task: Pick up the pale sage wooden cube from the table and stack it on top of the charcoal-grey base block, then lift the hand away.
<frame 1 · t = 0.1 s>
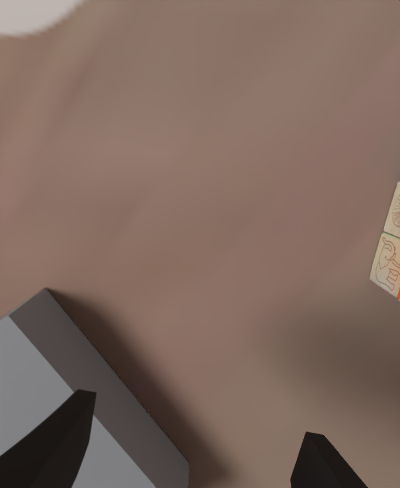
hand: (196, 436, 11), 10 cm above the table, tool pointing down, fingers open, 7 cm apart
base block: (31, 436, 23), on the table
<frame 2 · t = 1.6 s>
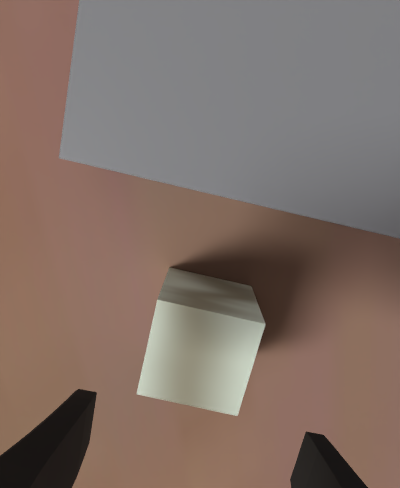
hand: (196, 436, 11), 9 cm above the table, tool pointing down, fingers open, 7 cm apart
base block: (271, 37, 17), on the table
sage cube: (200, 313, 20), on the table
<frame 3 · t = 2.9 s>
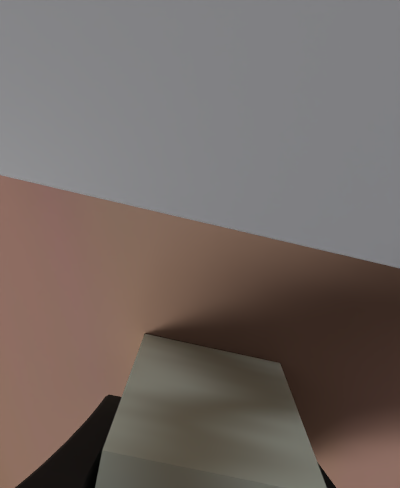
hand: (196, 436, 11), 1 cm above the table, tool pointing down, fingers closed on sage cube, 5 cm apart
sage cube: (197, 406, 13), on the table, touching gripper
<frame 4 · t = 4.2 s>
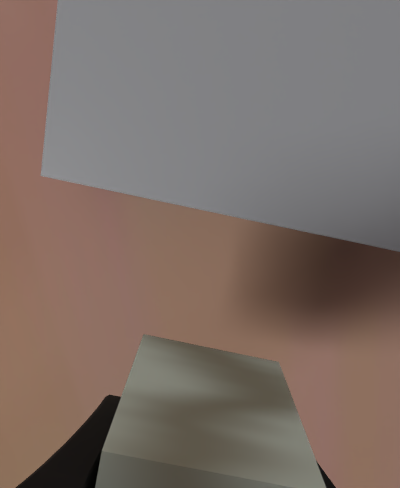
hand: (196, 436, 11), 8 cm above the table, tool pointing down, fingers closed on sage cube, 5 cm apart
base block: (263, 41, 16), on the table
sage cube: (196, 406, 13), point 7 cm above the table, touching gripper
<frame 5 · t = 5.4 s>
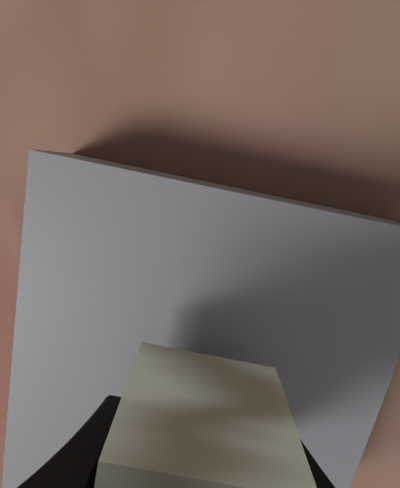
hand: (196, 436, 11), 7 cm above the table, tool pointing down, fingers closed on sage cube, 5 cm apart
base block: (200, 332, 18), on the table
sage cube: (195, 412, 13), point 6 cm above the table, touching gripper
when the fingers open (7 cm above the table, at t = 6.0 s): sage cube drops 1 cm, resting on base block.
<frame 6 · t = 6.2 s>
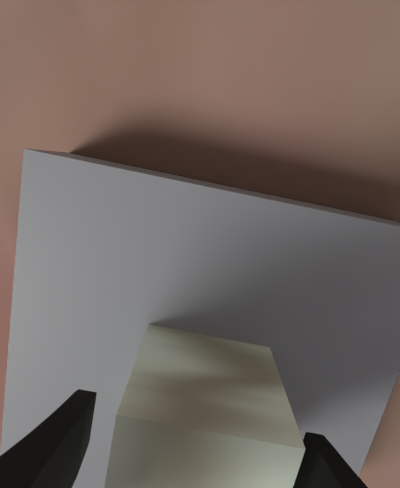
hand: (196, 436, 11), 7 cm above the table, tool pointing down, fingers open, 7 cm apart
base block: (199, 334, 18), on the table
sage cube: (197, 388, 14), point 4 cm above the table, touching base block
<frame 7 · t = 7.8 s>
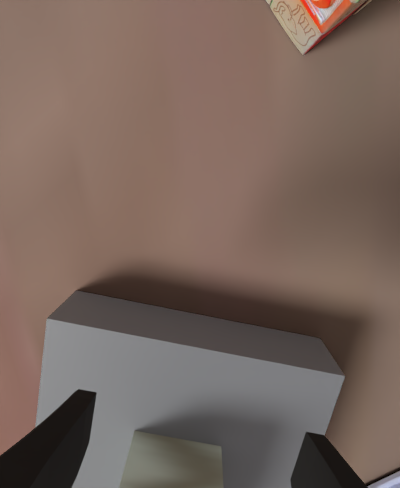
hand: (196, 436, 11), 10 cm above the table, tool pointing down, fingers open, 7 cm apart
base block: (176, 418, 23), on the table
sage cube: (170, 473, 19), point 4 cm above the table, touching base block
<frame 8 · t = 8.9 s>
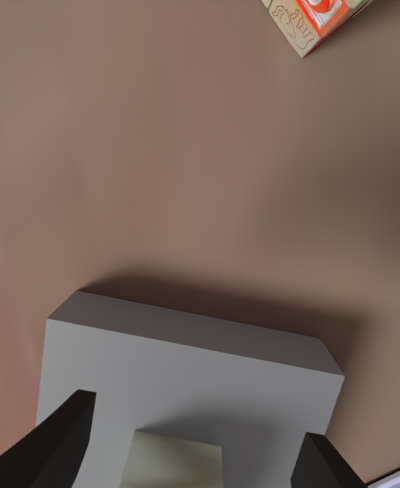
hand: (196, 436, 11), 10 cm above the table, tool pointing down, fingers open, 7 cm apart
base block: (176, 418, 23), on the table
sage cube: (170, 473, 19), point 4 cm above the table, touching base block
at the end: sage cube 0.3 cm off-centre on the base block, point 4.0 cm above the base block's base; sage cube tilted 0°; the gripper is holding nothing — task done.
